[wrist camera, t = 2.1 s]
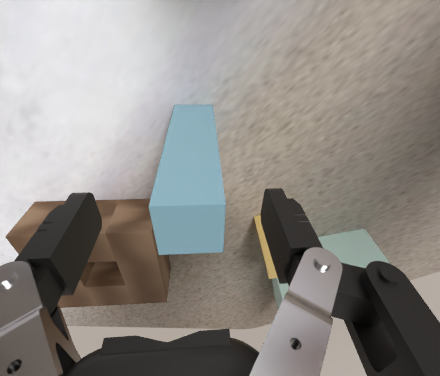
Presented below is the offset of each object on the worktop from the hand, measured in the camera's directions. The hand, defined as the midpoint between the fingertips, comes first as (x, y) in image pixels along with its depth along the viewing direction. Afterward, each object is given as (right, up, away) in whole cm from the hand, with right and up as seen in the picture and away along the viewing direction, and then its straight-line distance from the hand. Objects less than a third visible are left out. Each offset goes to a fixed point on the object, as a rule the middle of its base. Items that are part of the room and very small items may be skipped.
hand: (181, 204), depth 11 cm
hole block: (-11, -5, +16) cm, 20 cm away
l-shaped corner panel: (+15, -10, +23) cm, 29 cm away
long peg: (0, +6, +8) cm, 10 cm away
